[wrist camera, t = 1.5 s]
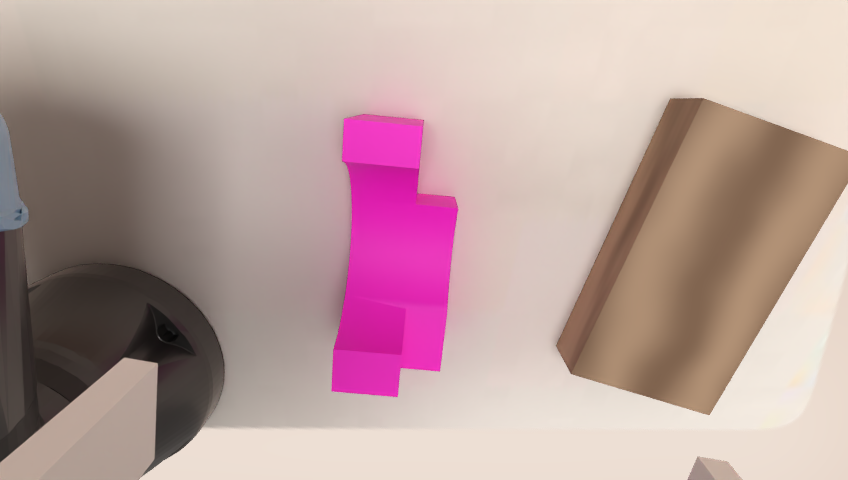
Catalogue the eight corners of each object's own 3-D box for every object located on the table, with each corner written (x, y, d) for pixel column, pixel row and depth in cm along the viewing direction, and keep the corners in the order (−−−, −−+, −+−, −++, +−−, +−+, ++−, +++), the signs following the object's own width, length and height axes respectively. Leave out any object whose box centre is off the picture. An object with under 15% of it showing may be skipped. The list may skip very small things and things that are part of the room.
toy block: (438, 336, 34) (441, 400, 26) (351, 328, 34) (331, 391, 26) (462, 123, 29) (475, 131, 22) (364, 114, 29) (343, 118, 22)
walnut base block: (554, 343, 34) (571, 373, 30) (667, 98, 29) (703, 98, 25) (678, 380, 35) (709, 415, 31) (807, 149, 30) (863, 156, 26)
